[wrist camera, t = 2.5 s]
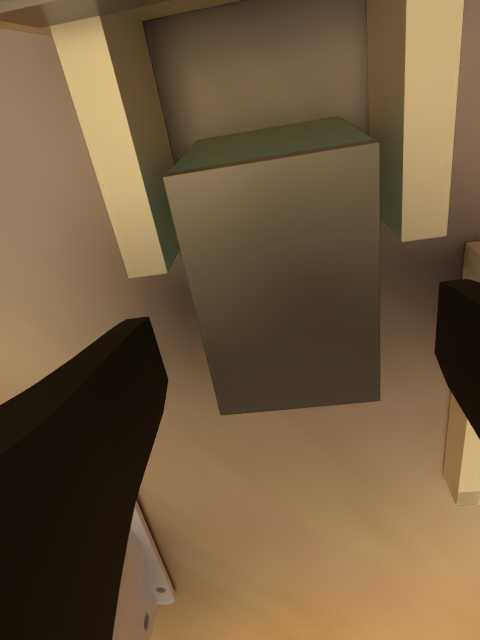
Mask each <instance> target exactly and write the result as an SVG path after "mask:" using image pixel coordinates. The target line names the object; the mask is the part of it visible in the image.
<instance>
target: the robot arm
mask: <svg viewBox="0 0 480 640" xmlns="http://www.w3.org/2000/svg"><path fill="white" fill-rule="evenodd" d="M435 355H436V358H437V360H438V363H439V366H440V368H441V371H442V373H443V375H444V378H445V380H446V383H447V385H448V387H449V389H450V391H451V392H452V394H453V396H454V397H455V399H456V401H457V403H458V404H459V406H460V408H461V409H462V411H463V413H464V414H465V416H466V418H467V419H468V421H469V423H470V424H471V426H472V428H473V429H474V431H475V433H476V434H477V436H478V438H479V439H480V282H477V281H474V280H470V279H460V280H451V281H443V282H440V284H439V298H438V312H437V326H436V340H435ZM167 385H168V377H167V374H166V370H165V367H164V364H163V361H162V357H161V354H160V351H159V347H158V344H157V341H156V338H155V334H154V331H153V328H152V325H151V321H150V318H149V317H141V318H133V319H126V320H124V321H123V322H121V323H119V324H118V325H116V326H115V327H113V328H112V329H111V330H109V331H108V332H106V333H105V334H104V335H102V336H101V337H100V338H98V339H97V340H96V341H95V342H93V343H92V344H91V345H89V346H88V347H87V348H85V349H84V350H83V351H81V352H80V353H79V354H77V355H76V356H75V357H73V358H72V359H71V360H69V361H68V362H66V363H65V364H63V365H62V366H61V367H59V368H58V369H56V370H55V371H53V372H52V373H51V374H49V375H48V376H46V377H45V378H43V379H42V380H41V381H39V382H38V383H36V384H35V385H33V386H31V387H30V388H28V389H27V390H25V391H23V392H22V393H20V394H19V395H17V396H15V397H13V398H12V399H10V400H8V401H7V402H5V403H3V404H1V405H0V640H150V639H151V634H152V629H153V624H154V619H155V614H156V609H157V605H170V604H172V603H174V601H175V596H176V594H175V591H174V589H173V586H172V584H171V582H170V579H169V577H168V574H167V572H166V570H165V567H164V565H163V562H162V560H161V558H160V555H159V553H158V551H157V548H156V546H155V543H154V541H153V539H152V536H151V534H150V531H149V529H148V527H147V524H146V522H145V520H144V517H143V515H142V512H141V510H140V508H139V505H138V503H137V501H136V500H137V496H138V492H139V488H140V485H141V482H142V479H143V475H144V472H145V469H146V466H147V463H148V460H149V457H150V453H151V450H152V447H153V444H154V441H155V438H156V434H157V431H158V428H159V425H160V421H161V418H162V415H163V410H164V405H165V399H166V392H167Z"/></svg>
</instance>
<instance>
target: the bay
mask: <svg viewBox="0 0 480 640" xmlns="http://www.w3.org/2000/svg"><path fill="white" fill-rule="evenodd" d="M237 1H241V0H0V28H2V29H8V30H15V31H21V32H27V33H33V34H40V35H46V36H52V37H53V38H54V42H55V45H56V48H57V51H58V54H59V58H60V61H61V64H62V67H63V70H64V73H65V77H66V80H67V83H68V86H69V89H70V93H71V96H72V99H73V102H74V105H75V108H76V112H77V115H78V118H79V121H80V124H81V128H82V131H83V134H84V137H85V140H86V143H87V147H88V150H89V153H90V156H91V159H92V163H93V166H94V169H95V172H96V175H97V179H98V182H99V185H100V188H101V191H102V194H103V198H104V201H105V204H106V207H107V210H108V214H109V217H110V220H111V223H112V226H113V229H114V233H115V236H116V239H117V242H118V245H119V249H120V252H121V255H122V258H123V261H124V264H125V268H126V271H127V274H128V277H129V278H135V277H143V276H150V275H158V274H165V273H168V271H169V269H170V267H171V265H172V263H173V261H174V259H175V257H176V254H177V252H178V250H179V248H180V246H179V242H178V238H177V234H176V230H175V226H174V222H173V217H172V213H171V209H170V205H169V201H168V197H167V193H166V189H165V185H164V180H163V177H164V175H165V174H166V173H167V172H168V171H169V170H170V169H171V168H172V167H173V166H174V161H173V156H172V152H171V147H170V143H169V138H168V134H167V130H166V125H165V121H164V116H163V112H162V108H161V103H160V99H159V94H158V90H157V85H156V81H155V77H154V72H153V68H152V63H151V59H150V54H149V50H148V46H147V41H146V37H145V32H144V28H143V24H142V21H145V20H150V19H155V18H160V17H164V16H169V15H174V14H179V13H184V12H188V11H193V10H198V9H203V8H208V7H212V6H217V5H222V4H227V3H232V2H237ZM366 1H367V64H368V127H369V136H370V137H372V138H373V139H375V140H376V141H378V142H379V199H380V216H381V217H382V218H383V220H384V221H385V222H386V223H387V225H388V226H389V227H390V228H391V230H392V231H393V232H394V233H395V235H396V236H397V237H398V238H399V240H400V241H401V242H406V241H413V240H421V239H428V238H436V237H443V236H447V224H448V211H449V197H450V184H451V170H452V156H453V143H454V129H455V116H456V102H457V88H458V75H459V61H460V48H461V34H462V21H463V7H464V0H366Z"/></svg>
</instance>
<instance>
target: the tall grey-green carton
mask: <svg viewBox="0 0 480 640" xmlns="http://www.w3.org/2000/svg"><path fill="white" fill-rule="evenodd" d="M163 180H164V185H165V189H166V193H167V197H168V201H169V205H170V209H171V213H172V217H173V222H174V226H175V230H176V234H177V238H178V242H179V246H180V250H181V255H182V259H183V263H184V267H185V271H186V275H187V279H188V283H189V287H190V292H191V296H192V300H193V304H194V308H195V312H196V316H197V320H198V324H199V329H200V333H201V337H202V341H203V345H204V349H205V353H206V357H207V362H208V366H209V370H210V374H211V378H212V382H213V386H214V390H215V394H216V399H217V403H218V407H219V411H220V415H232V414H242V413H253V412H264V411H275V410H286V409H297V408H308V407H319V406H330V405H341V404H352V403H363V402H374V401H380V199H379V142H378V141H376V140H375V139H373V138H372V137H370V136H368V135H367V134H365V133H364V132H362V131H361V130H359V129H357V128H356V127H354V126H353V125H351V124H350V123H348V122H346V121H345V120H343V119H342V118H340V117H339V116H337V117H331V118H325V119H320V120H314V121H308V122H302V123H296V124H290V125H284V126H279V127H273V128H267V129H261V130H255V131H249V132H243V133H237V134H232V135H226V136H220V137H214V138H208V139H202V140H197V141H196V142H195V143H194V144H193V145H192V147H191V148H190V149H189V150H188V151H187V152H186V153H185V154H184V155H183V156H182V157H181V158H180V159H179V160H178V162H177V163H176V164H175V165H174V166H173V167H172V168H171V169H170V170H169V171H168V172H167V173H166V174H165V175H164V177H163Z"/></svg>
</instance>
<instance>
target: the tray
mask: <svg viewBox="0 0 480 640" xmlns="http://www.w3.org/2000/svg"><path fill="white" fill-rule="evenodd" d="M462 279H470V280H474V281H477V282H480V241H473V242H466V244H465V254H464V264H463V275H462ZM443 477H444V479H445V481H446V483H447V486H448V488H449V490H450V492H451V495H452V497H453V499H454V501H455V504H456V506H463V505H479V504H480V439H479V438H478V436H477V434H476V433H475V431H474V429H473V428H472V426H471V424H470V423H469V421H468V419H467V418H466V416H465V414H464V413H463V411H462V409H461V408H460V406H459V404H458V403H457V401H456V399H455V397H454V396H453V394H452V392H451V399H450V409H449V420H448V430H447V440H446V451H445V461H444V471H443Z"/></svg>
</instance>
